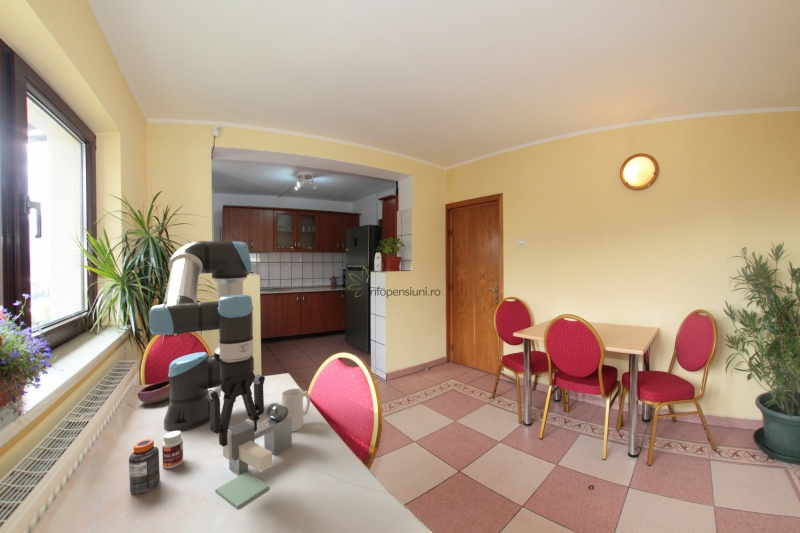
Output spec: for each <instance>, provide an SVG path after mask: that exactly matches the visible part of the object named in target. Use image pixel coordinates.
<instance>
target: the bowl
mask: <svg viewBox="0 0 800 533" xmlns="http://www.w3.org/2000/svg"><path fill="white" fill-rule="evenodd" d="M137 397H138V400H139V401H141V402H142V403H144V404H151V403H152V404H156V403H157V402H158V403H160V402H164V401H166V400H167V399H168V398H169V399H170V397H169V379H166V380H163V381H159V382H155V383H152V384H149V385H147V386H145V387H143V388H142V389H140V390H139V391H138V393H137Z"/></svg>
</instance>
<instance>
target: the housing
mask: <svg viewBox="0 0 800 533" xmlns="http://www.w3.org/2000/svg"><path fill="white" fill-rule="evenodd" d="M266 415H267V416H268V418H266V419H264V420H262V421H260V422H257V431H256V432H254V439H255V440H257V439H258V438H260V437H263V438H264V439H263V440H264V448H266V449H267V450H269V451H271V452H272V456H277V455H278V454H280V453H282V452H284V451H286V450H288V449H289V448H291V447H292V446H293V433H292V421H291V416H289V415H288V408H287V407H284V406H283V405H282V404H279V403H276V402H273V403H271V404H269V405H268V407H267V410H266ZM228 466H229V467H228V469H229V470H230V471H231V472H233V473H234V474H236V475H237V476H240V475H242V474H243V473H245V472H249V465H248V464H247V463H245V462H244V461H242V460H240V459H237V460H235V461H234V460H233V459H230V460H229V459H228Z"/></svg>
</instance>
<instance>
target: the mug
mask: <svg viewBox="0 0 800 533" xmlns="http://www.w3.org/2000/svg"><path fill="white" fill-rule="evenodd" d="M308 392H309V391H308V390H303V389H302V388H290V389H287V390H284V391H283V392H281V399H282V400H281V402H282V404H281V405H282V406H284V407H287V408H288V415H289V416H291V421H292V432H297V431H299V430H301V429H302V428H303V427H304V416H305V415H308V413H309V409H310V405H311V398H310V394H309V393H308ZM304 397H305V398H306V405H305V408H304Z"/></svg>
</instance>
